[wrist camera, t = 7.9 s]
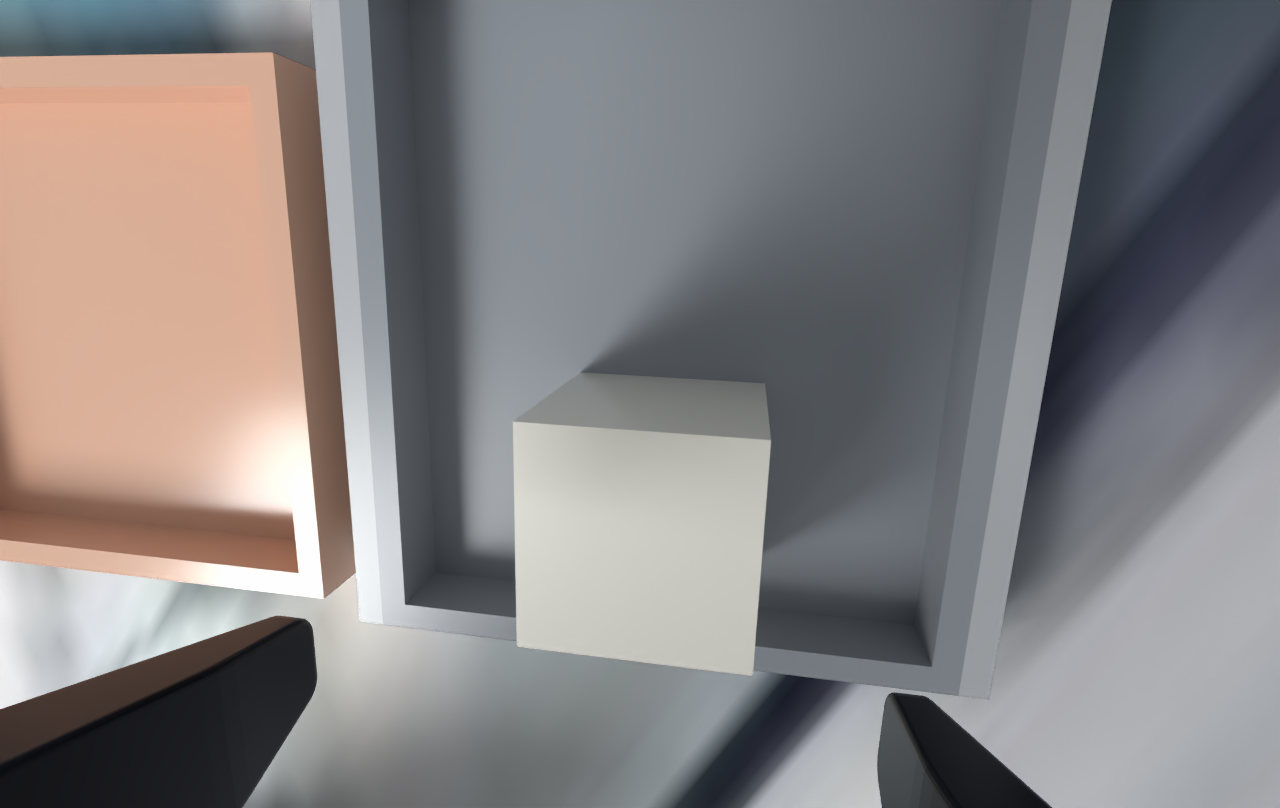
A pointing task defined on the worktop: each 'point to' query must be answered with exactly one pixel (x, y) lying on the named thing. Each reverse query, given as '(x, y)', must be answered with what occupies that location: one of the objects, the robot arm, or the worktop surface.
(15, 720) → the robot arm
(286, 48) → the worktop surface
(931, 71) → the bin
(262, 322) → the bin
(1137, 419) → the worktop surface
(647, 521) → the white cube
